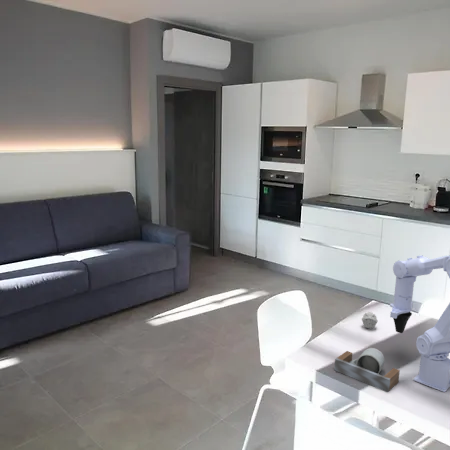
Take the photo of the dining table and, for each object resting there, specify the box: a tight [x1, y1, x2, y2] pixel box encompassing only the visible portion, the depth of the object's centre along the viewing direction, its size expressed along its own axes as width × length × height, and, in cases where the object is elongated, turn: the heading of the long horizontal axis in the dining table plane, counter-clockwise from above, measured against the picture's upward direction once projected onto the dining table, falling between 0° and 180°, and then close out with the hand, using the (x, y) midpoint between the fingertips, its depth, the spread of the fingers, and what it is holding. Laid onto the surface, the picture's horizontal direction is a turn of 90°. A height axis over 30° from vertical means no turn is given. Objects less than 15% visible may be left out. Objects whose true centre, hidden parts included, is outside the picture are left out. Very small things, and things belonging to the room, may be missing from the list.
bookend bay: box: [334, 350, 400, 393], centre depth 141 cm, size 18×8×4 cm, turn 47°
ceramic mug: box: [350, 347, 385, 375], centre depth 144 cm, size 11×8×8 cm
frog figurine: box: [361, 311, 378, 329], centre depth 177 cm, size 6×7×7 cm
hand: (399, 331), depth 153 cm, fingers closed
